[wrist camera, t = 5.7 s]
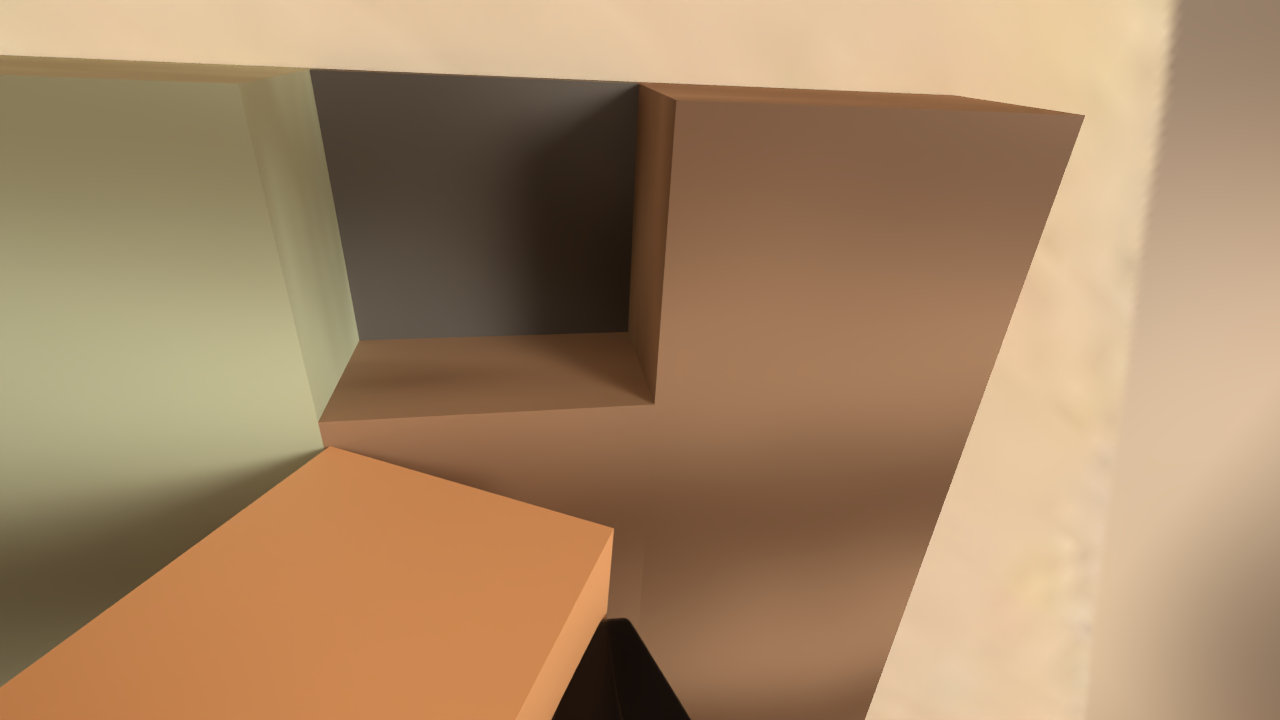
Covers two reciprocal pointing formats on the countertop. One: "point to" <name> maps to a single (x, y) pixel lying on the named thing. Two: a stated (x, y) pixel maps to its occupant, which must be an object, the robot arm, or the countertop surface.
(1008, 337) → the countertop surface
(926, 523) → the trap board
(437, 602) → the block
